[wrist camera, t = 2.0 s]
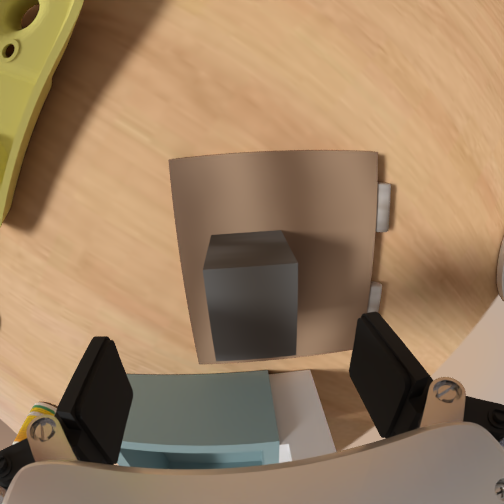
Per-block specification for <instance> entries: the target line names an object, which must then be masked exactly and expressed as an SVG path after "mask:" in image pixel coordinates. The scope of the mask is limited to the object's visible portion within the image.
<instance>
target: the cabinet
mask: <svg viewBox="0 0 504 504" xmlns="http://www.w3.org/2000/svg"><path fill="white" fill-rule="evenodd" d="M126 375H127V377H128V380H129V382H130V385H131V387H132V390H133V400H132V404H131V408H130V411H129V415H128V419H127V423H126V428H125V432H124V436H123V440H122V445H121V449H120V454H119V458H118V462H117V463H118V465H119V466H128V467H140V468H155V469H222V468H238V467H249V466H259V465H267V464H275V463H282V462H289V461H295V460H301V459H306V458H311V457H317V456H321V455H326V454H331V453H335V452H336V449H335V446H334V442H333V439H332V436H331V433H330V430H329V427H328V423H327V420H326V417H325V414H324V411H323V408H322V405H321V402H320V399H319V396H318V392H317V389H316V386H315V383H314V380H313V377H312V374H311V371H310V370H302V371H294V372H286V373H277V374H268V370H262V371H250V372H237V373H220V374H193V375H142V374H126Z"/></svg>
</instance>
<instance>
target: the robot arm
mask: <svg viewBox="0 0 504 504" xmlns="http://www.w3.org/2000/svg"><path fill="white" fill-rule="evenodd" d="M497 288H498V292H499V295H500V297H501V299H502V300H503V301H504V238H503V241H502V244H501V249H500V253H499V258H498V265H497ZM349 373H350V377H351V379H352V381H353V383H354V385H355V387H356V389H357V391H358V393H359V395H360V397H361V399H362V401H363V403H364V404H365V406H366V408H367V410H368V412H369V414H370V416H371V418H372V420H373V422H374V424H375V426H376V428H377V430H378V432H379V434H380V436H381V437H382V438H384V437H385V438H386V439H383V440H380V441H376V442H374V443H370V444H366V445H362V446H359V447H355V448H351V449H347V450H343V451H339V452H335V453H331V454H326V455H321V456H317V457H311V458H306V459H301V460H295V461H289V462H282V463H275V464H267V465H259V466H249V467H238V468H222V469H155V468H140V467H128V466H117V465H114V464H116V463H117V462H118V458H119V454H120V449H121V445H122V440H123V436H124V432H125V428H126V423H127V419H128V415H129V411H130V408H131V404H132V400H133V390H132V387H131V385H130V382H129V380H128V377H127V375H126V372H125V370H124V367H123V365H122V362H121V359H120V357H119V354H118V351H117V349H116V346H115V343H114V341H113V340H110V339H109V337H93V339H92V340H91V342H90V344H89V346H88V348H87V350H86V352H85V353H84V355H83V357H82V359H81V361H80V363H79V365H78V367H77V369H76V371H75V373H74V375H73V377H72V379H71V381H70V383H69V385H68V387H67V389H66V391H65V393H64V395H63V397H62V399H61V401H60V403H59V406H58V408H57V410H56V413H55V415H54V416H52V415H48V414H47V415H40V416H37V417H36V418H34V419H33V420H32V421H31V422H30V423H29V425H28V426H27V430H26V434H27V438H26V439H24V440H22V441H20V442H18V443H16V444H14V445H12V446H9V447H7V448H5V449H3V450H1V451H0V504H504V405H502V404H498V403H493V402H489V401H485V400H480V399H476V398H472V397H468V396H466V393H465V389H464V387H463V385H462V384H461V383H460V382H459V381H457V380H455V379H452V378H449V377H441V378H438V379H436V380H434V381H433V380H432V378H431V377H430V375H429V374H428V373H427V372H426V370H425V369H424V368H423V367H422V365H421V364H420V363H419V361H418V360H417V359H416V358H415V356H414V355H413V354H412V353H411V352H410V350H409V349H408V348H407V347H406V345H405V344H404V343H403V342H402V340H401V339H400V338H399V337H398V336H397V334H396V333H395V332H394V331H393V330H392V328H391V327H390V326H389V325H388V324H387V322H386V321H385V320H384V319H383V318H382V317H381V315H380V314H379V313H378V312H376V311H375V312H369V313H363V314H362V316H361V318H358V320H357V326H356V332H355V339H354V345H353V351H352V357H351V362H350V368H349Z"/></svg>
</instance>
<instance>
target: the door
mask: <svg viewBox="0 0 504 504" xmlns="http://www.w3.org/2000/svg"><path fill="white" fill-rule="evenodd" d="M169 169H170V180H171V189H172V199H173V208H174V216H175V224H176V232H177V239H178V247H179V254H180V261H181V267H182V274H183V280H184V286H185V292H186V298H187V304H188V310H189V315H190V321H191V326H192V331H193V337H194V342H195V347H196V352H197V357H198V361H199V364H221V363H239V362H253V361H266V360H277V359H287V358H296V357H305V356H313V355H320V354H327V353H334V352H341V351H347V350H353V345H354V339H355V332H356V326H357V320H358V318H361V316H362V314H363V313H369V312H375V311H376V312H378V311H379V305H380V299H381V292H382V284H381V283H379V282H375V281H371V275H372V266H373V256H374V244H375V231H376V232H387V231H388V229H389V214H390V194H391V184H389V183H383V182H378V152H373V151H350V150H290V151H262V152H243V153H229V154H216V155H205V156H194V157H185V158H176V159H170V160H169Z"/></svg>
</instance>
